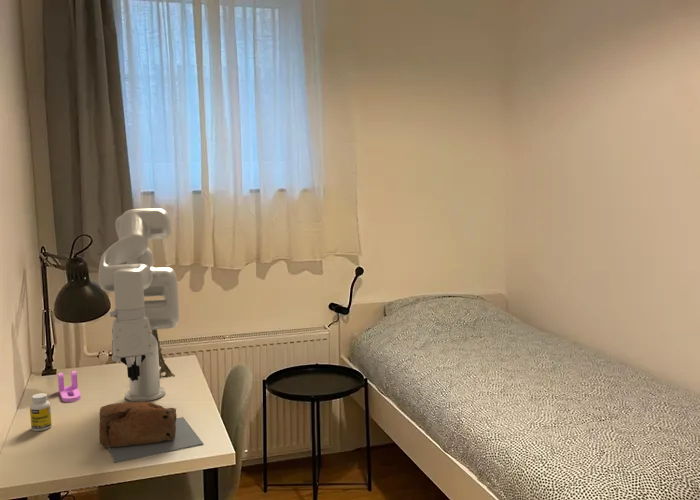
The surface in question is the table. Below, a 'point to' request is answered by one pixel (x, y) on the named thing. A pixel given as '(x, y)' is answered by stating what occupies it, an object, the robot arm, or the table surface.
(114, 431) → the block
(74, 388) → the bracket
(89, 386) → the table surface
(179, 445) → the mat
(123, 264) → the robot arm
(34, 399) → the supplement bottle
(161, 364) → the eiffel tower
